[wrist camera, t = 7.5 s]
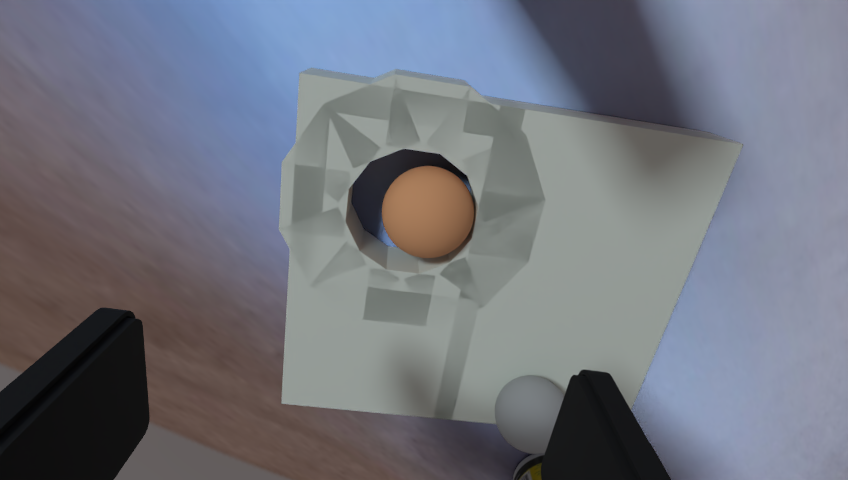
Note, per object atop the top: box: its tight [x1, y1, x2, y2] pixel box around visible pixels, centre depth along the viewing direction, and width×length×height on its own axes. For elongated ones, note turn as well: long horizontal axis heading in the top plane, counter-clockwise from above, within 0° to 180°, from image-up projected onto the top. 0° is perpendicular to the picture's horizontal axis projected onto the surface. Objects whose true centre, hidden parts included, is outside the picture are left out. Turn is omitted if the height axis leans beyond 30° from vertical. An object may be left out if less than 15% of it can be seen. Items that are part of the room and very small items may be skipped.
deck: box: [279, 68, 743, 424], centre depth 23 cm, size 18×16×2 cm
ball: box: [382, 166, 474, 258], centre depth 21 cm, size 4×4×4 cm
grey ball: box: [495, 375, 564, 454], centre depth 23 cm, size 4×4×4 cm
